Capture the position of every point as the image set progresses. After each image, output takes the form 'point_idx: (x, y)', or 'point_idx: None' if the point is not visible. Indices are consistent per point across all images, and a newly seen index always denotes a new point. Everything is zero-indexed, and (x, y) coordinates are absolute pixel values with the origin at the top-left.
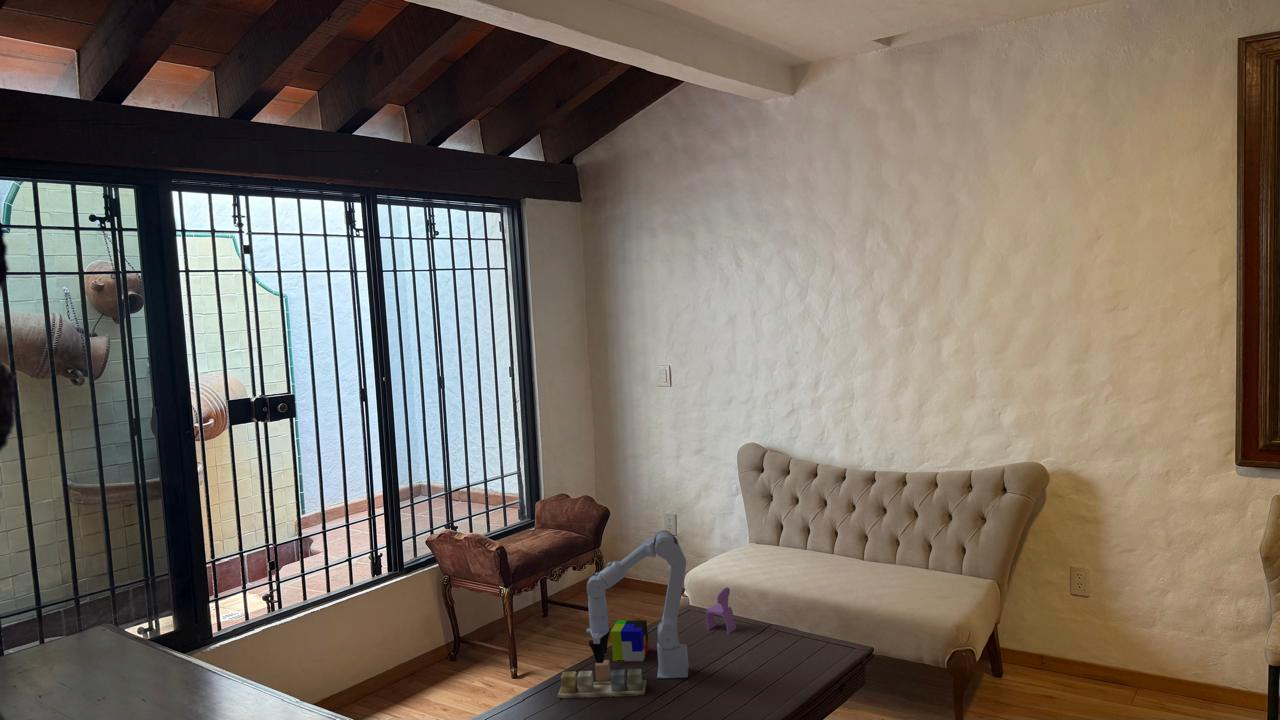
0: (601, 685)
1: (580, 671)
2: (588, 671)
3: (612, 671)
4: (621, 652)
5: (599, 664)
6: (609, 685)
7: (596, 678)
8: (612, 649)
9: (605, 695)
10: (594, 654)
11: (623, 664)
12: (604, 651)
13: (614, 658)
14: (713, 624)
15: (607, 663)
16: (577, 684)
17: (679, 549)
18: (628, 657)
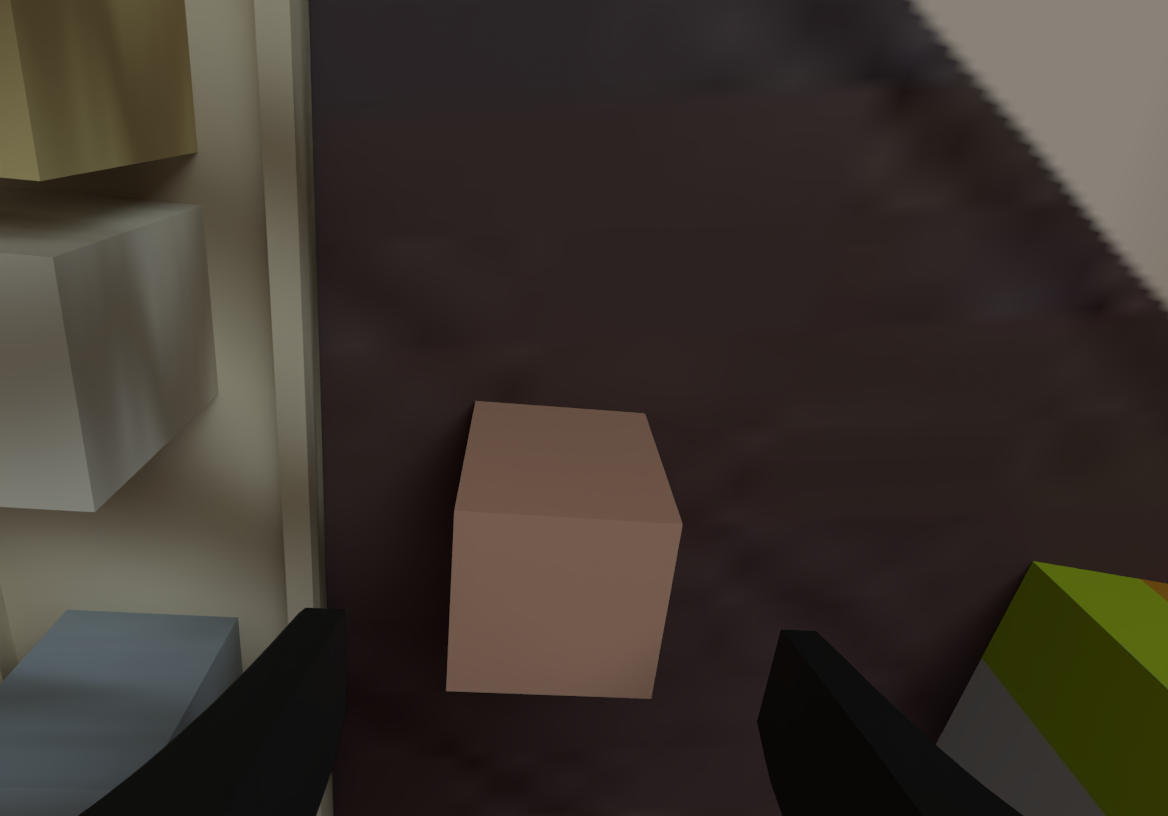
0: (258, 488)
1: (36, 284)
2: (53, 445)
3: (77, 801)
4: (1049, 731)
5: (490, 577)
6: (252, 578)
7: (474, 420)
8: (1138, 667)
9: None
10: (172, 747)
11: (888, 666)
12: (774, 726)
13: (1045, 598)
14: None
15: (510, 684)
16: (269, 151)
17: None
18: (978, 742)
